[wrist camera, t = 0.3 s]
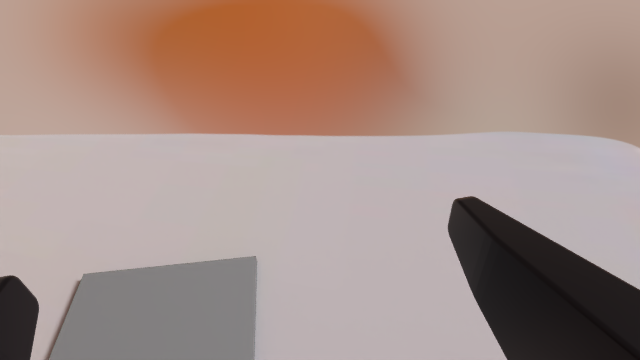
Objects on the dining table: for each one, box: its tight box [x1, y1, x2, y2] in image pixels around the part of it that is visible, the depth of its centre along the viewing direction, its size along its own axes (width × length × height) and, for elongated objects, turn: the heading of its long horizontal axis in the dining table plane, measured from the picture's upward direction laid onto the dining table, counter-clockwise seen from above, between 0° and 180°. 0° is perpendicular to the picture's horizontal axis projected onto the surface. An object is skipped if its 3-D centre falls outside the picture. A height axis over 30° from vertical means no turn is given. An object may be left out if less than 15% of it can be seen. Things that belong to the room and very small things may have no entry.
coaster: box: [49, 256, 257, 360], centre depth 23 cm, size 12×12×1 cm
